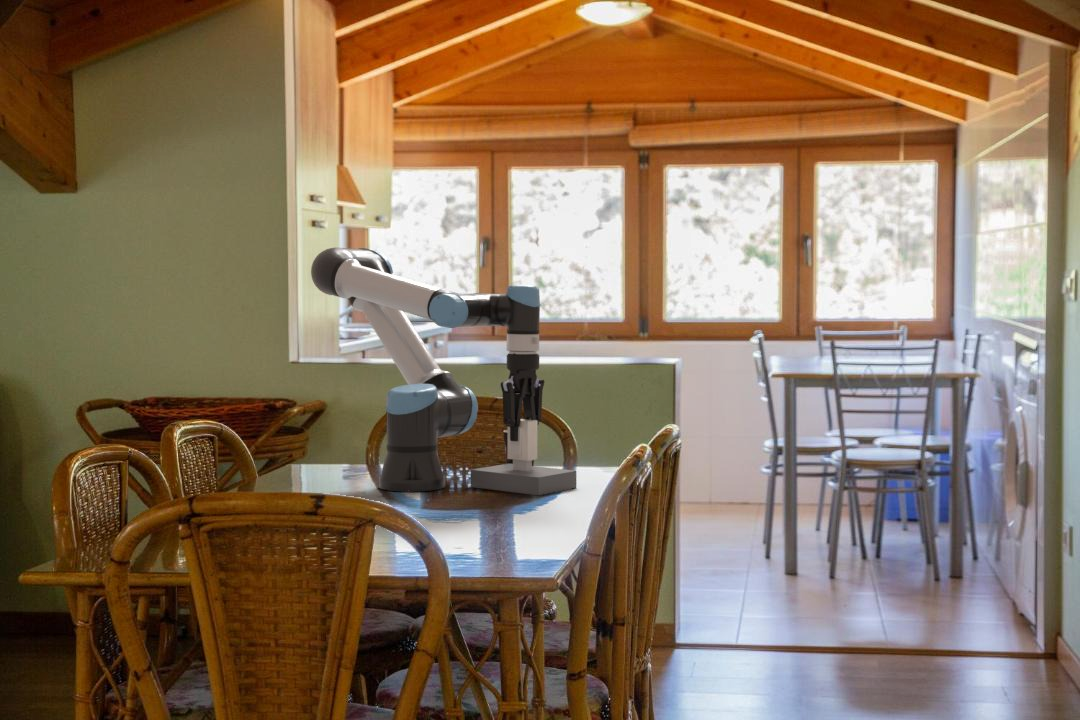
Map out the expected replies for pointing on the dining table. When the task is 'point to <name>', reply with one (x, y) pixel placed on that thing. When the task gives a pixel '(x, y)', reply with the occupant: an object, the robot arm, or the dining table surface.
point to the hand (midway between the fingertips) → (522, 454)
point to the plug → (525, 446)
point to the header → (523, 479)
